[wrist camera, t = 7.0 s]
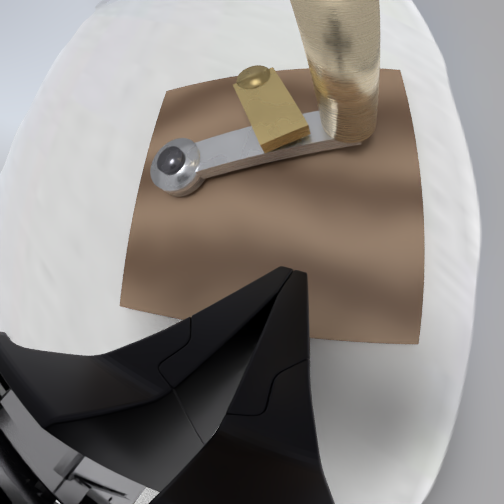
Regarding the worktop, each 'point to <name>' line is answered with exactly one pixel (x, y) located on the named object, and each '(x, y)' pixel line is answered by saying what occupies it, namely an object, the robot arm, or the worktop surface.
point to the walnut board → (287, 219)
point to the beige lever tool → (320, 122)
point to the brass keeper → (270, 108)
